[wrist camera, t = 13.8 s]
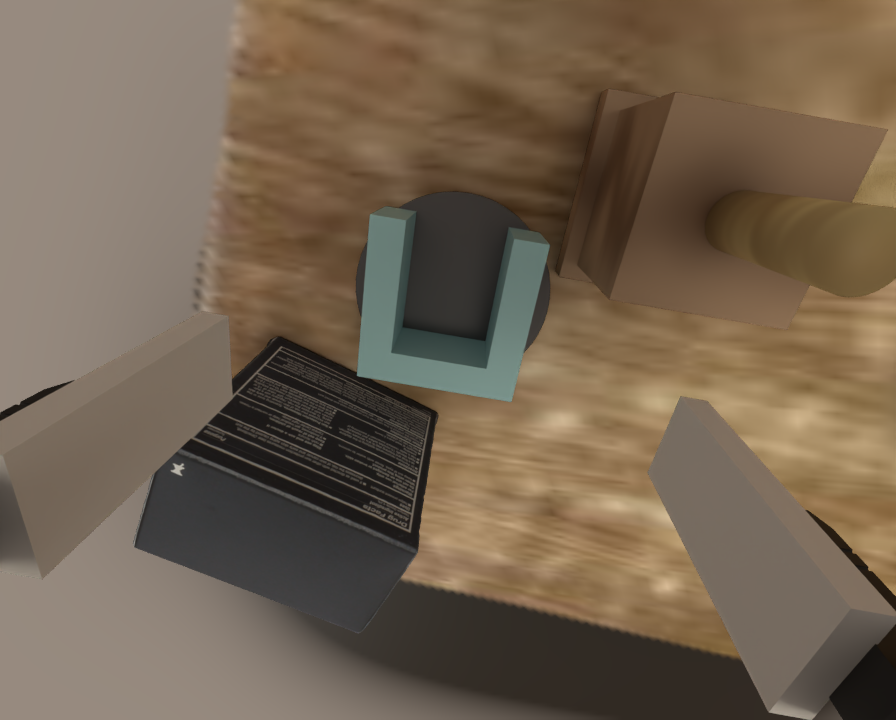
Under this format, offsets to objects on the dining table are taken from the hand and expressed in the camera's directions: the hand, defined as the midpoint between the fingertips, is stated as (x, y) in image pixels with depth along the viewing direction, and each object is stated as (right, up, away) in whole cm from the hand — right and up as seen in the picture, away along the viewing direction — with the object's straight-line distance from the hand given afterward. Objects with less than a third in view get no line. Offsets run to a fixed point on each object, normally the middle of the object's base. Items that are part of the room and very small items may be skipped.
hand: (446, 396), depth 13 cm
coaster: (0, +5, +11) cm, 12 cm away
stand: (+10, +9, +8) cm, 16 cm away
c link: (0, +4, +10) cm, 11 cm away
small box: (-6, -2, +14) cm, 16 cm away
